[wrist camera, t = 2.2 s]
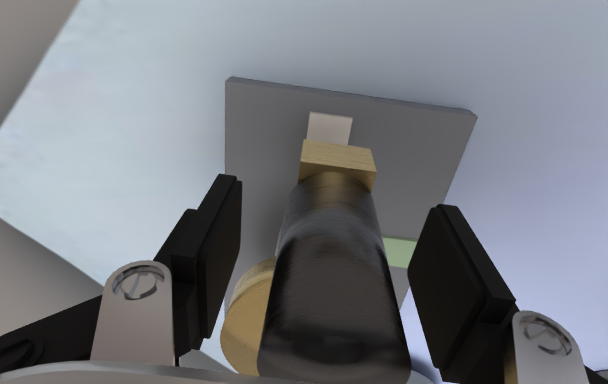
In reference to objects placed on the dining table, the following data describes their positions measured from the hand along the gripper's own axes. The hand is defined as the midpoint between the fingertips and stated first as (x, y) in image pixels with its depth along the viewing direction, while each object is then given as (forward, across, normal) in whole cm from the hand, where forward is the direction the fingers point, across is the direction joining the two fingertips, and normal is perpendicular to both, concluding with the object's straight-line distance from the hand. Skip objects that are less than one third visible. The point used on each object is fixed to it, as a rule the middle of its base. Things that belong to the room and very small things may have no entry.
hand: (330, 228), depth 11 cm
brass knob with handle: (+3, 0, +5) cm, 6 cm away
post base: (+11, -1, +8) cm, 13 cm away
